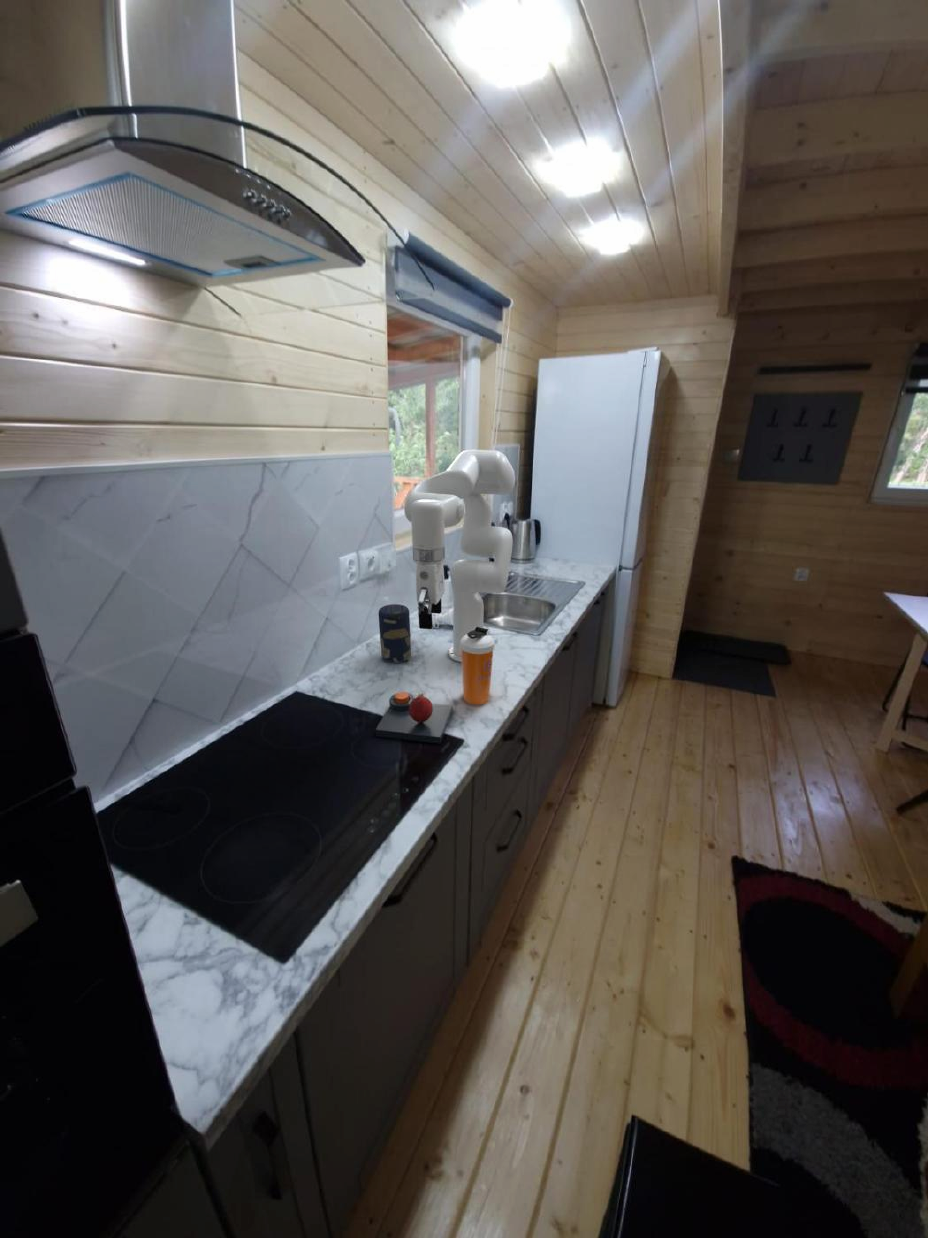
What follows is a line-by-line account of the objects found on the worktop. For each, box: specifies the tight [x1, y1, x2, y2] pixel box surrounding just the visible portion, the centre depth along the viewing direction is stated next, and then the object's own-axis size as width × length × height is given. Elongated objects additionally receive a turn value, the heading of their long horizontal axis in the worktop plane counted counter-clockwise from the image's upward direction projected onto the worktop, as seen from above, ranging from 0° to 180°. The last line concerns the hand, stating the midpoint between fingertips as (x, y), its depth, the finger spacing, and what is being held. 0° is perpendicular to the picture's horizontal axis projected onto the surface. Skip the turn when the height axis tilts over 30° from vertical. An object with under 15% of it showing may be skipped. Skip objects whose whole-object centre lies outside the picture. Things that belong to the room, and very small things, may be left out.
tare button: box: [394, 691, 410, 704], centre depth 128 cm, size 4×4×2 cm
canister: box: [378, 603, 412, 663], centre depth 155 cm, size 10×10×18 cm
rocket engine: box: [432, 607, 453, 629], centre depth 181 cm, size 12×12×18 cm
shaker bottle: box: [461, 627, 495, 706], centre depth 132 cm, size 9×9×20 cm
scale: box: [375, 692, 453, 745], centre depth 124 cm, size 15×16×4 cm
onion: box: [409, 692, 433, 723], centre depth 120 cm, size 6×6×8 cm
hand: (430, 620), depth 123 cm, fingers open, 9 cm apart
